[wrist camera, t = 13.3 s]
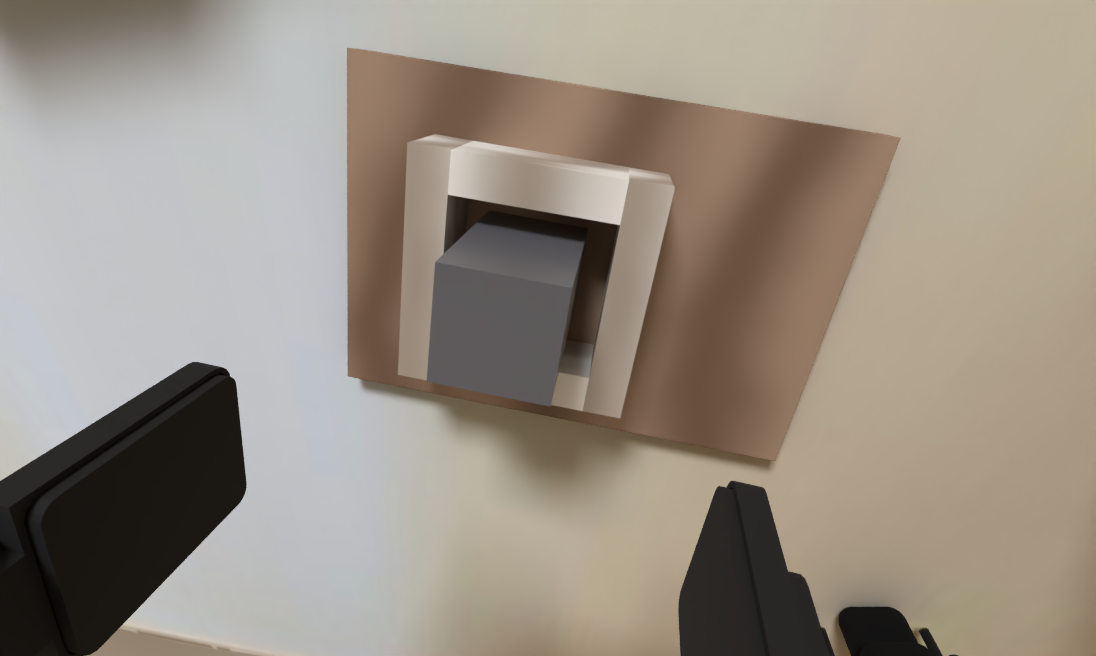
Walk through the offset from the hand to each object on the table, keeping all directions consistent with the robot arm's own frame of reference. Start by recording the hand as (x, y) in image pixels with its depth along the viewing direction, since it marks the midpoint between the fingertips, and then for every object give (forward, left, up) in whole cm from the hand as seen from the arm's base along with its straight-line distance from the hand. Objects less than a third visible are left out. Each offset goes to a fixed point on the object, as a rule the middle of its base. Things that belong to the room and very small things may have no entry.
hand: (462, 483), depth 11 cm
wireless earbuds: (-19, +15, -15) cm, 29 cm away
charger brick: (+1, 0, -14) cm, 14 cm away
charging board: (-1, 0, -15) cm, 15 cm away
